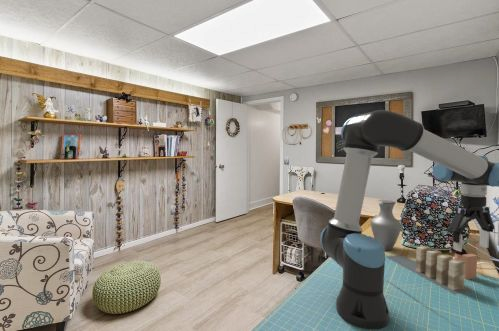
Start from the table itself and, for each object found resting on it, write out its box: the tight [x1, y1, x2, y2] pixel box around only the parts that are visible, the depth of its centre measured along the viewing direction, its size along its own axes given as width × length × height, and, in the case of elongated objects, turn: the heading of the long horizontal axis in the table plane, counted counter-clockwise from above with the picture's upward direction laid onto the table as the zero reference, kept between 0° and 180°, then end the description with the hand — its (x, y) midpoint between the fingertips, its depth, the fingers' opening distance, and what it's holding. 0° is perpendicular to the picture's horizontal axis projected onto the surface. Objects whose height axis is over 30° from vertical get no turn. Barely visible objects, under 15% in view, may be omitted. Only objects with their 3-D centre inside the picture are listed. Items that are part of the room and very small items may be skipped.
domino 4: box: [448, 259, 466, 290], centre depth 92 cm, size 5×2×10 cm, turn 104°
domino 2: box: [425, 249, 442, 278], centre depth 101 cm, size 5×2×10 cm, turn 104°
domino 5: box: [462, 253, 478, 280], centre depth 100 cm, size 5×2×10 cm, turn 104°
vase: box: [370, 199, 403, 251], centre depth 132 cm, size 14×14×25 cm
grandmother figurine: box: [449, 239, 468, 260], centre depth 110 cm, size 8×4×13 cm, turn 27°
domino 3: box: [436, 254, 454, 284], centre depth 96 cm, size 5×2×10 cm, turn 104°
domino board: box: [385, 254, 474, 295], centre depth 105 cm, size 9×32×1 cm, turn 14°
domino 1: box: [415, 245, 432, 273], centre depth 105 cm, size 5×2×10 cm, turn 104°
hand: (470, 248), depth 100 cm, fingers open, 13 cm apart
